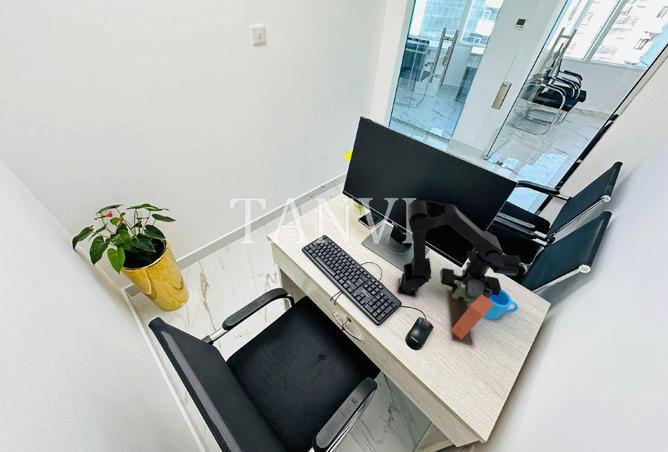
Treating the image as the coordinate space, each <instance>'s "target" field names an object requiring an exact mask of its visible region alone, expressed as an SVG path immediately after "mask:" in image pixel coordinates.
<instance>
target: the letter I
mask: <svg viewBox="0 0 668 452" xmlns="http://www.w3.org/2000/svg"><path fill="white" fill-rule="evenodd" d="M493 305H494V303H493V302H492V301H490V300H489V299H488V298H486V297H485V296H484V295H482V294H481V295H480V296H479V297H478V298H477V299H476V300H474V301H473V302H472V303H471V304H469V306H468V307H467V311H466V312H465V313H464V314H463V316H462V317H461V318H460V319H459V321H458V322H457V323H456V324H455V326H454V327H453V328H452V329H450V332H451V333H452V332H453V333H454V334H455V335H456V336H457V337H458V338H460V339H461V340H462V339H463V337H464V336H465V335H466V334H467V333H468V332H469V331H472V329H473V328H474V327H475V326H476V325H477V323H479V322H480V320H481V319H482V318H483V317H484V315H485V314H486V313H487V311H488V310H489V309H490V308H491V307H492V306H493Z"/></svg>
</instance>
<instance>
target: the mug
mask: <svg viewBox="0 0 668 452" xmlns="http://www.w3.org/2000/svg"><path fill="white" fill-rule="evenodd" d="M488 299H489V300H490V301H492V302H493V303H494V305H493V306H492V307H491V308H490V309H489V310H488V311H487V313H486V314H485V315H484V316H483V317H484V318H486V319H488V320H497V319H499V318H500V317H501V316H502V315H503V314H511V313H515V312H516V311H518V310H519V305H518V304H517V302H516V301H513V300H512V298H511V295H510V294H509V293H508V292H506V290H504V289H503V288H501V292H500V294H499V295H491V296H490V298H488ZM512 305H513V306H514V307H513V308H510V307H511V306H512Z"/></svg>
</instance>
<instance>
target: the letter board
mask: <svg viewBox="0 0 668 452" xmlns="http://www.w3.org/2000/svg"><path fill="white" fill-rule="evenodd" d="M447 295H448V306H449V317H450V328H451V329H452V328H453V327H454V326H455V324H456V323H457V322H458V321H459V319H460V318H461V317H462V316H463V314H464V313H465V312H466V311H467V309H468V305H467V301H464V297H461V296H459V298H458V299H455V298H452V289H448V290H447ZM451 329H450V330H451ZM471 331H472V330H470V331H469V332H468V333H467V334H466V335H465V336H464V337H463V339H462V340H461V339H460V338H458V337H457V336H456V335H455V334H454V333H453V332H452V331H451V340H452V341H455V342H459V343H463V344H466V345H470V346H472V345H473V339H472V332H471Z"/></svg>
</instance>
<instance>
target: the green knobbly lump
mask: <svg viewBox="0 0 668 452" xmlns="http://www.w3.org/2000/svg"><path fill="white" fill-rule="evenodd" d="M457 285H458V288H456V290H455V292H454V293H453V294H452V298H455V299H458V298H459V296H461V297H464V301H466V302H470V301H471V299H468V298H466V297H465V287H463V284H462V283H458V284H457Z"/></svg>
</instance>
